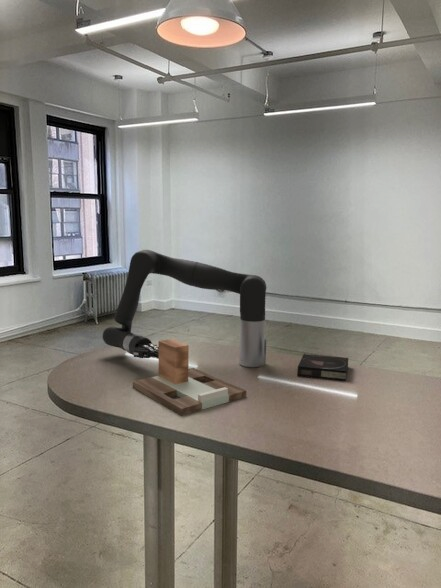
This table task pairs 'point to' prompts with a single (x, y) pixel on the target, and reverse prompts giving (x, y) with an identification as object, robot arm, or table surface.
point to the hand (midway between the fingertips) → (162, 356)
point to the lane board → (189, 391)
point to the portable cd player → (323, 367)
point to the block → (173, 361)
